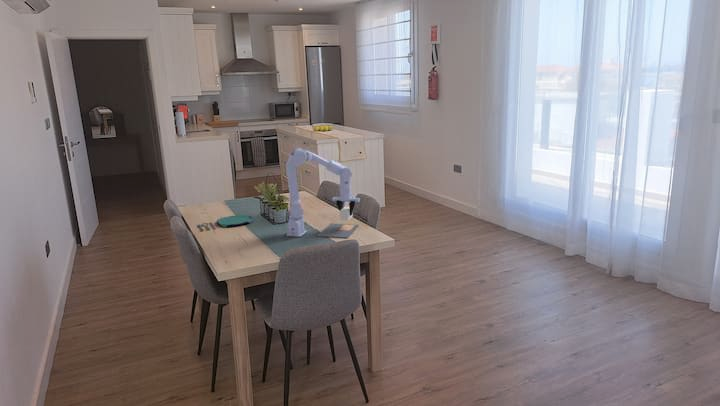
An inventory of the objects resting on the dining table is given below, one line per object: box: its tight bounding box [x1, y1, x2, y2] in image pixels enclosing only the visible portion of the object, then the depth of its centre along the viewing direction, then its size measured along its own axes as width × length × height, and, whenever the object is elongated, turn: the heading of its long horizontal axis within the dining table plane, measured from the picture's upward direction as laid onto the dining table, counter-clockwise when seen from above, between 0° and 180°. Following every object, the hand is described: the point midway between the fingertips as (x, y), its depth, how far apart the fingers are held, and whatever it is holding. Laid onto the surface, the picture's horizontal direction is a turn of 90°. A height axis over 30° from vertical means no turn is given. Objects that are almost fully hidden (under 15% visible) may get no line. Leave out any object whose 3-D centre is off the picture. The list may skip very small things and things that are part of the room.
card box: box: [339, 206, 354, 221], centre depth 262 cm, size 4×8×5 cm, turn 164°
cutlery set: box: [197, 214, 253, 232], centre depth 278 cm, size 20×30×2 cm, turn 117°
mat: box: [316, 222, 360, 239], centre depth 260 cm, size 22×16×1 cm
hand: (346, 214), depth 262 cm, fingers closed on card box, 4 cm apart
